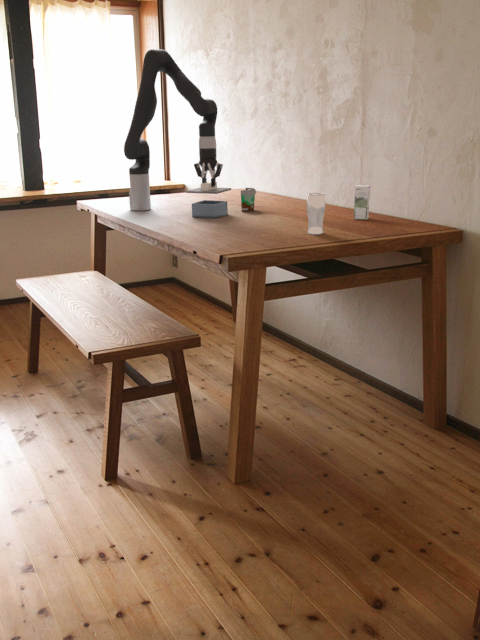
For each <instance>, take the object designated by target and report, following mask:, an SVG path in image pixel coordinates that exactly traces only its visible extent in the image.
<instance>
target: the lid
mask: <svg viewBox="0 0 480 640" xmlns="http://www.w3.org/2000/svg"><path fill="white" fill-rule="evenodd" d="M231 190H232V187H218V182H217V181H216V185H215V187H211V181H207V182H206V183H202V182H201V183H200V187H198V188H197V187H196V188H193V189H189V190H186V191H185V192H186V193H187V194H209V195H211V194H212V195H213V194H215V195H217V194H221V193H225V192H228V191H231Z"/></svg>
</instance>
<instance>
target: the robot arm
mask: <svg viewBox="0 0 480 640" xmlns="http://www.w3.org/2000/svg"><path fill="white" fill-rule="evenodd" d="M160 72H163V73H164V74H166V75H167V76H168V77H169V78H171V80H172V82H173V83H174V86H175V88H176V90H177V92H178V93H179V94H180V95H181V96H182V97H183V98H184V99H185V100H186V101H187V102H188V103H189V105H190V106H191V108H192V110H193V111H194V112H195V113H196V114H197V115H198V116H199V117H203V118H202V122H200V123H199V125H198V135H199V136H198V148H199V149H198V150H199V151H198V154H199V156H198V157H199V160H198V161H199V162H196V163H194V164H193V166H194V169H195V172H196V175H197V177H200V178H201V184H202V183H206V182H208V181H207V175H208V171H209V174H210V178H211V179H210V182H211V187H215V185H216V182H217V180H216V179H217V178H218V177H220V175H221V172H222V169H223V165H224V164H223V163H220V162H218V161H217V140H216V122H217V118H218V106H217V105H218V104H216V101H214V100H213V99H208V98H206V99H205V98H204V97H203V96H202V92H201V90H200V89H199V87H198V86H196V85H195V84H194V83H193V82H192V81H191V79H189V78H188V77H187V76H186V74H185V73H184V72H183V71H182V69H181V68H180V66H178V64H177V63H176V62H175V59H174V58H173V57H172V56H171V54H170V53H169V52H167V50H165V49H162V48H161V49H160V48H157V49H155V48H152V49H149V50H147V51H146V52H145V54H144V57H143V62H142V70H141V80H140V84H139V89H138V93H137V96H136V97H137V98H136V101H135V105H134V110H133V115H132V119H131V123H130V127H129V130H128V133H127V137H126V139H125V142H124V147H123V154H124V156H125V158H126V159H127V160H131V161H132V160H135V163H134V164H133V165H132V166H131V167H129V169H128V171H129V172H128V173H129V185H130V186H129V188H130V189H128V198H129V209H130V211H138V212H139V211H140V212H141V211H149V210H151V209H152V207H151V206H152V203H151V189H150V188H151V187H150V176H149V175H150V172H149V170H150V165H151V163H150V162H151V160H150V157H151V156H150V155H151V153H150V146H149V143H148V141H147V140H146V139H143V138H141V137H142V134H143V132H144V131H145V129H146V128H147V126H149V124H150V123H151V122H152V120H153V119H154V117H155V113H156V109H157V104H158V97H157V93H156V87H155V85H156V80H157V75H158V73H160ZM215 168H216V169H215Z"/></svg>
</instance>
